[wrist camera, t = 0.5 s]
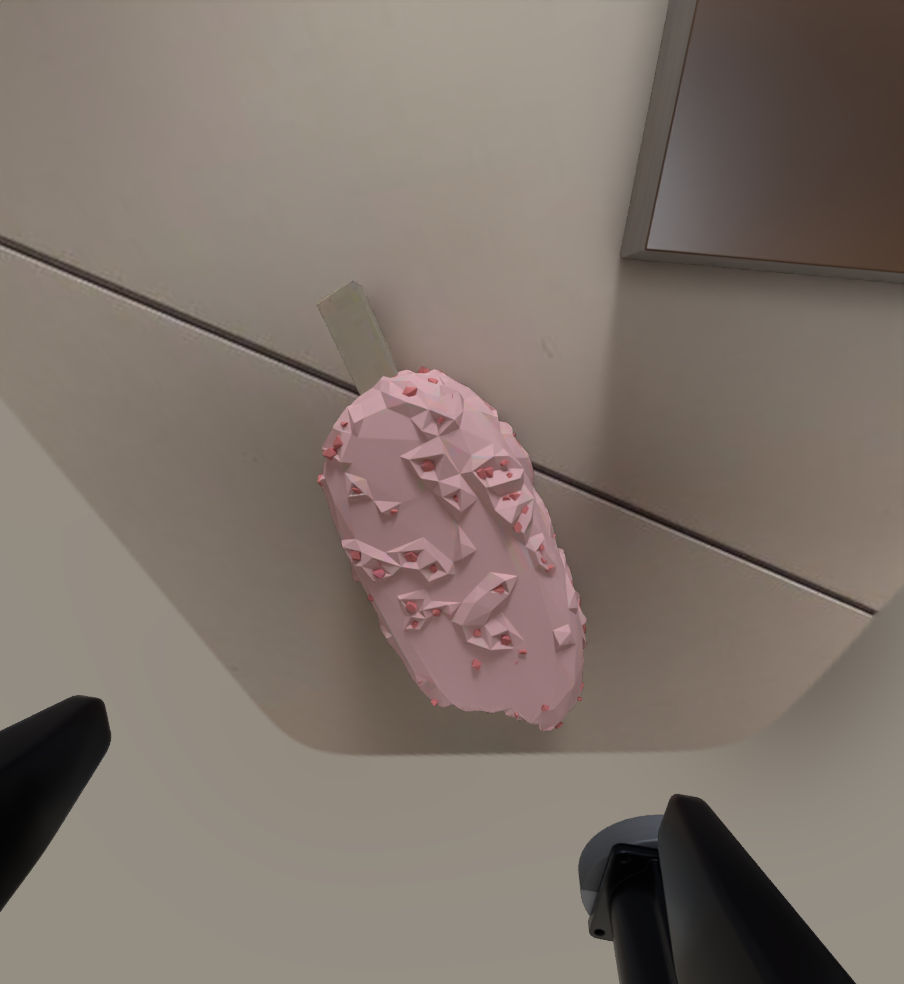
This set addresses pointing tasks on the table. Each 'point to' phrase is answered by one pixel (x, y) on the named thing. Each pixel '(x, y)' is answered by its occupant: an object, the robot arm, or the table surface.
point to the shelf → (775, 140)
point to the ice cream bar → (449, 533)
